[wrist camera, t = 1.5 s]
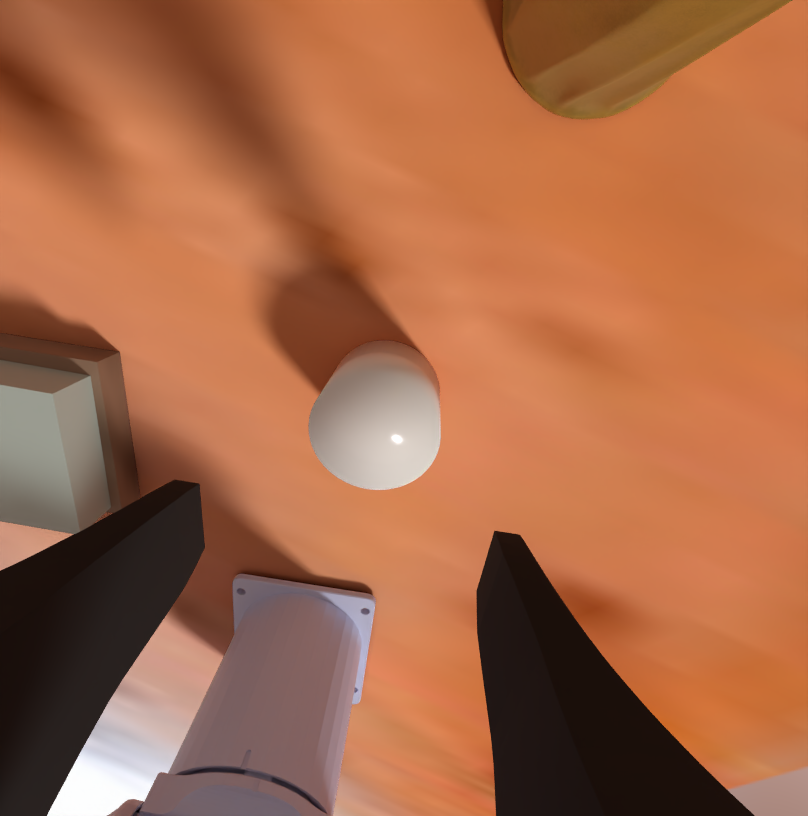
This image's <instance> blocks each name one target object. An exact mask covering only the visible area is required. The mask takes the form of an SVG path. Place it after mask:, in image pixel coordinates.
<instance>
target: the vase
mask: <svg viewBox="0 0 808 816" xmlns="http://www.w3.org/2000/svg"><path fill="white" fill-rule="evenodd" d="M790 1H792V0H503V16H502V32H503V42H504V46H505V50H506V52H507V56H508V59H509V62H510V65H511V67H512V70H513V72H514V74H515V76H516V78H517V80H518V81H519V83H520V84H521V86H522V87H523V89H524V90H525V91H526V92H527V94H528V95H529V96H530V97H531V98H532V99H533V100H535V101H536V102H537V103H538V104H540V105H541V106H542V107H544V108H545V109H546V110H548V111H550V112H552V113H554V114H556V115H559V116H563V117H567V118H572V119H595V118H604V117H609V116H612V115H615V114H618V113H620V112H622V111H624V110H626V109H629V108H631V107H632V106H634V105H636V104H637V103H639V102H641V101H642V100H644V99H645V98H647V97H648V96H649V95H651V94H652V93H653V92H655V91H656V90H657V89H658V88H659V87H661V86H662V85H663V84H664V83H665V82H666V81H667V80H668V79H669V77H670V76H672V75H673V74H674V73H676V72H678V71H679V70H681V69H683V68H684V67H686V66H687V65H689V64H691V63H692V62H694V61H696V60H697V59H699V58H701V57H702V56H704V55H705V54H707V53H709V52H710V51H712V50H713V49H715V48H717V47H718V46H720V45H721V44H723V43H724V42H726V41H728V40H729V39H731V38H732V37H734V36H736V35H737V34H739V33H741V32H742V31H744V30H746V29H747V28H749V27H750V26H752V25H754V24H755V23H757V22H759V21H760V20H762V19H763V18H765V17H767V16H768V15H770V14H771V13H773V12H775V11H776V10H778V9H779V8H781V7H782V6H784V5H786V4H787V3H789V2H790Z"/></svg>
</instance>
